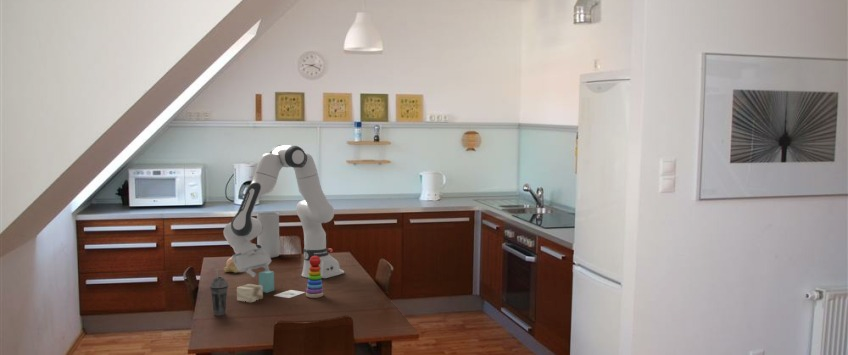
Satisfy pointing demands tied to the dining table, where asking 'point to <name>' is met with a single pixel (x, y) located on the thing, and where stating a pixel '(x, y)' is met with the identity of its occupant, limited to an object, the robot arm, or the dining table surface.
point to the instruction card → (289, 294)
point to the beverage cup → (219, 294)
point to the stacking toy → (314, 279)
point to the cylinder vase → (269, 233)
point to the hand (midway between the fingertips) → (261, 274)
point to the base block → (249, 292)
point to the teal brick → (266, 280)
